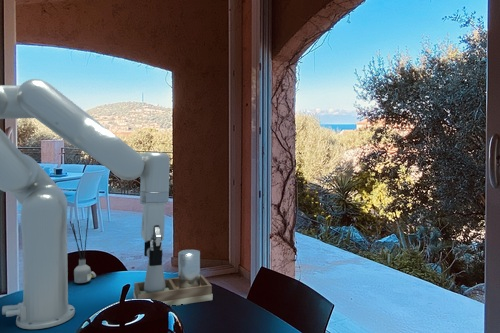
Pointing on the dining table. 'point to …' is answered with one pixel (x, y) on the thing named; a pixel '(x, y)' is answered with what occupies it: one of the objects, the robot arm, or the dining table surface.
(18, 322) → the robot arm
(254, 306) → the dining table surface
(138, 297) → the divided tray
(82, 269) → the reed diffuser
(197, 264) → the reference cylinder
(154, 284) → the salt shaker
